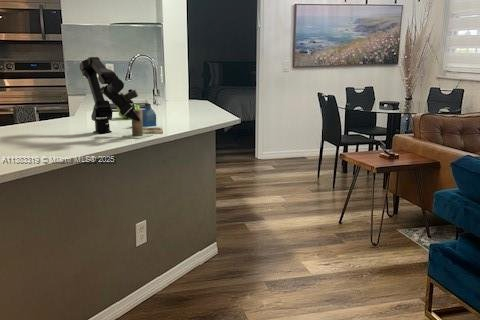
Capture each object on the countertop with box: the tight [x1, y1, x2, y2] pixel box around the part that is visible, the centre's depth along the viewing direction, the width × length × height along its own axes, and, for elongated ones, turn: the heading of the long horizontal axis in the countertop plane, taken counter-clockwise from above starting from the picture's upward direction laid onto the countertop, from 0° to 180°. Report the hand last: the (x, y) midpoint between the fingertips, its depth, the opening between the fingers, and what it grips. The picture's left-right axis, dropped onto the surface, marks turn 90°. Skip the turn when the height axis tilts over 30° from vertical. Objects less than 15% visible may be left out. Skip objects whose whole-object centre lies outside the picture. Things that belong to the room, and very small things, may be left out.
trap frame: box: [143, 126, 164, 135], centre depth 231 cm, size 11×11×1 cm
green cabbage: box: [116, 103, 141, 120], centre depth 273 cm, size 12×12×10 cm
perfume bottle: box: [141, 102, 157, 128], centre depth 248 cm, size 6×6×12 cm
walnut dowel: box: [131, 109, 144, 136], centre depth 217 cm, size 5×5×12 cm
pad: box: [122, 133, 153, 140], centre depth 219 cm, size 10×10×1 cm
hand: (140, 119), depth 217 cm, fingers open, 9 cm apart
